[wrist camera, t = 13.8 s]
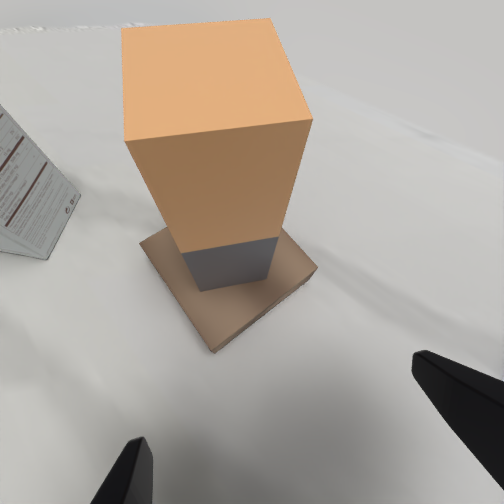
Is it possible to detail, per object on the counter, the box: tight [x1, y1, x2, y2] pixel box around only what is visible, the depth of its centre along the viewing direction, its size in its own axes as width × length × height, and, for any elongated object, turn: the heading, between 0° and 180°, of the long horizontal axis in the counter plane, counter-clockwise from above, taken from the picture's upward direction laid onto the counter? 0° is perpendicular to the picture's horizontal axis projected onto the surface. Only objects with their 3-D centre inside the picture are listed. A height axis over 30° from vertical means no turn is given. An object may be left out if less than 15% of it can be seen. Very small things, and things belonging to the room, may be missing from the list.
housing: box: [121, 18, 313, 292], centre depth 14 cm, size 5×5×14 cm
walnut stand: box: [139, 227, 318, 353], centre depth 22 cm, size 10×10×3 cm
